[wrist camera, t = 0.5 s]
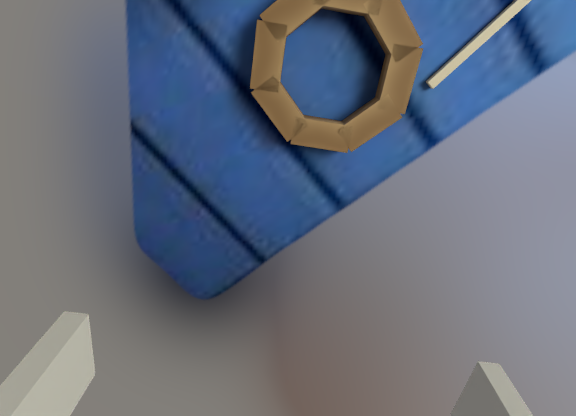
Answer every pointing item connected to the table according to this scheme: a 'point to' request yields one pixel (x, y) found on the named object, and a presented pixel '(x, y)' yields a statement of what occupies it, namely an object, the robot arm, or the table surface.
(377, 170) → the table surface
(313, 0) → the wooden ring
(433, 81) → the straight beige square stick
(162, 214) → the table surface
